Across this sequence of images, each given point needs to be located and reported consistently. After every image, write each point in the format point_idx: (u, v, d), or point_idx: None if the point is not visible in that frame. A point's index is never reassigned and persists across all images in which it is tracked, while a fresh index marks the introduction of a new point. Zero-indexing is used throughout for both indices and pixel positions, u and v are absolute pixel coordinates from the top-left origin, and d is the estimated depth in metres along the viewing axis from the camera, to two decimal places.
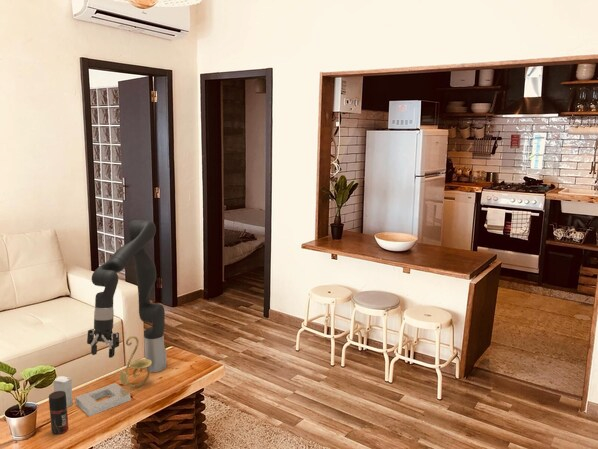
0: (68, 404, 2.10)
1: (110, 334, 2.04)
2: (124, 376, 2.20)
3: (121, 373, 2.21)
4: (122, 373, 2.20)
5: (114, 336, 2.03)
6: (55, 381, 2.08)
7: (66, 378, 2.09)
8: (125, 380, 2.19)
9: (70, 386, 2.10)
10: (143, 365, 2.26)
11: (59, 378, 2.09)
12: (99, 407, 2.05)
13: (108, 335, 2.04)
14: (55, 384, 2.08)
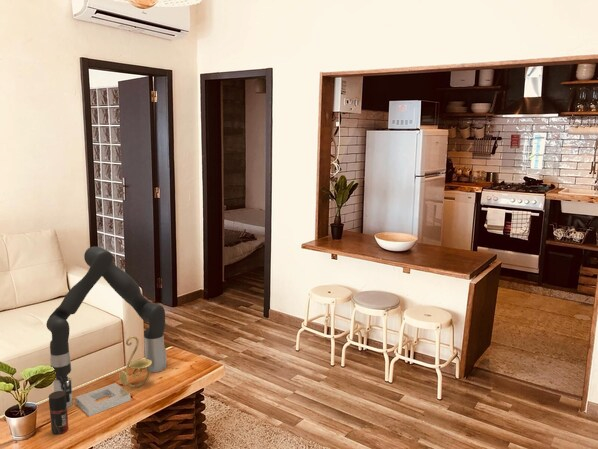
0: (68, 404, 2.10)
1: (63, 381, 2.05)
2: (124, 376, 2.20)
3: (121, 373, 2.21)
4: (122, 373, 2.20)
5: (64, 384, 2.04)
6: (55, 381, 2.08)
7: None
8: (125, 380, 2.19)
9: None
10: (143, 365, 2.26)
11: None
12: (99, 407, 2.05)
13: (62, 381, 2.06)
14: (55, 384, 2.08)
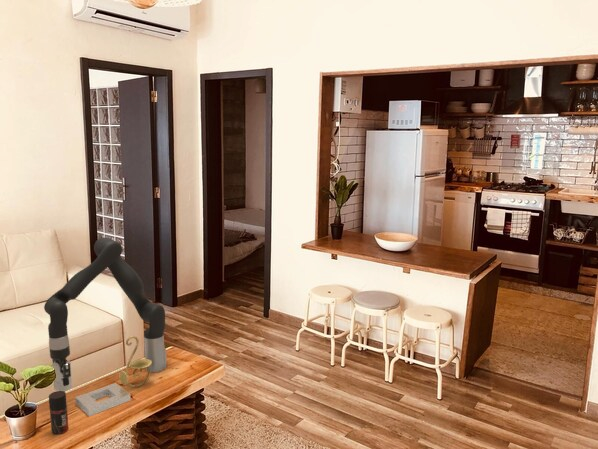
0: (67, 387, 2.08)
1: (62, 364, 2.04)
2: (124, 376, 2.20)
3: (121, 373, 2.21)
4: (122, 373, 2.20)
5: (63, 367, 2.02)
6: (54, 364, 2.07)
7: None
8: (125, 380, 2.19)
9: None
10: (143, 365, 2.26)
11: None
12: (99, 407, 2.05)
13: (61, 364, 2.05)
14: (54, 367, 2.07)
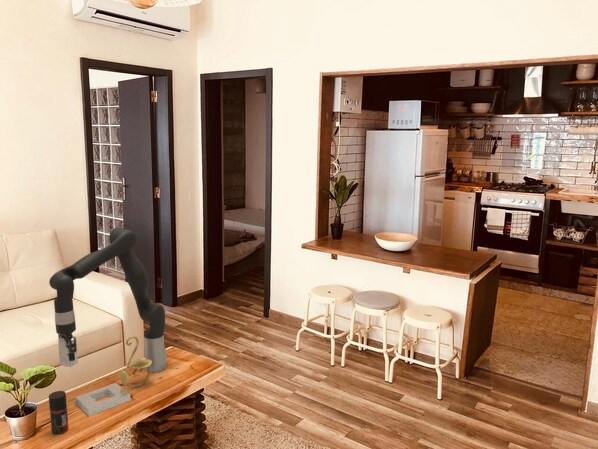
0: (73, 363, 2.07)
1: (68, 339, 2.03)
2: (124, 376, 2.20)
3: (121, 373, 2.21)
4: (122, 373, 2.20)
5: (69, 342, 2.01)
6: (60, 339, 2.06)
7: None
8: (125, 380, 2.19)
9: None
10: (143, 365, 2.26)
11: None
12: (99, 407, 2.05)
13: (67, 339, 2.04)
14: (60, 342, 2.06)
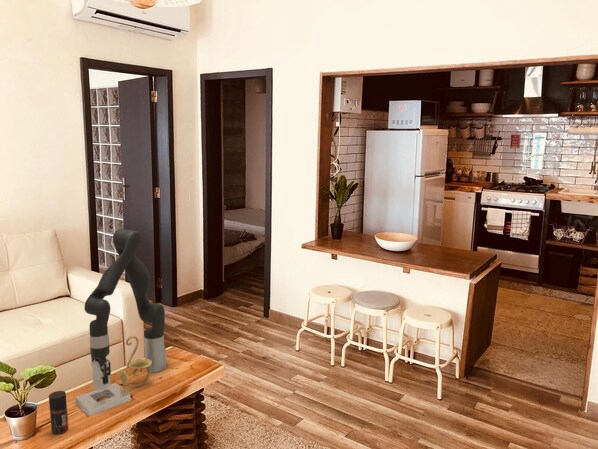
0: (106, 386, 2.11)
1: (103, 362, 2.07)
2: (124, 376, 2.20)
3: (121, 373, 2.21)
4: (122, 373, 2.20)
5: (104, 366, 2.05)
6: (94, 363, 2.09)
7: None
8: (125, 380, 2.19)
9: None
10: (143, 365, 2.26)
11: None
12: (99, 407, 2.05)
13: (101, 363, 2.07)
14: (94, 366, 2.10)
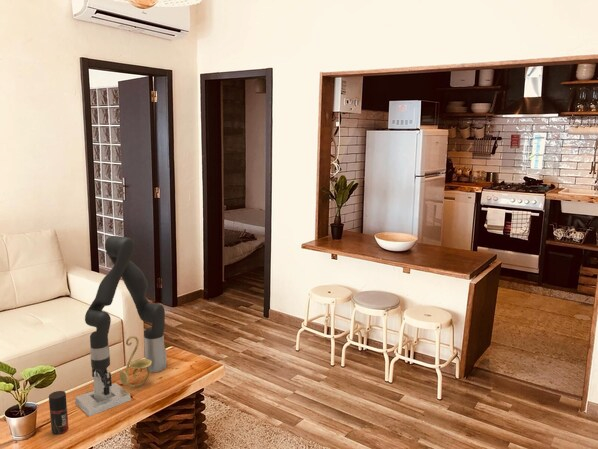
0: None
1: (103, 373, 2.08)
2: (124, 376, 2.20)
3: (121, 373, 2.21)
4: (122, 373, 2.20)
5: (105, 376, 2.06)
6: (95, 378, 2.11)
7: None
8: (125, 380, 2.19)
9: None
10: (143, 365, 2.26)
11: None
12: (99, 407, 2.05)
13: (102, 374, 2.08)
14: (95, 381, 2.11)
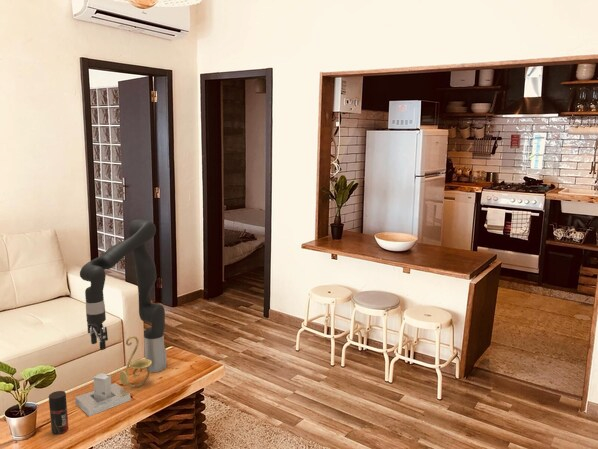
0: None
1: (99, 328, 2.08)
2: (124, 376, 2.20)
3: (121, 373, 2.21)
4: (122, 373, 2.20)
5: (100, 331, 2.07)
6: (95, 378, 2.11)
7: (106, 375, 2.12)
8: (125, 380, 2.19)
9: (109, 383, 2.13)
10: (143, 365, 2.26)
11: (99, 375, 2.12)
12: (99, 407, 2.05)
13: (98, 329, 2.09)
14: (95, 381, 2.11)
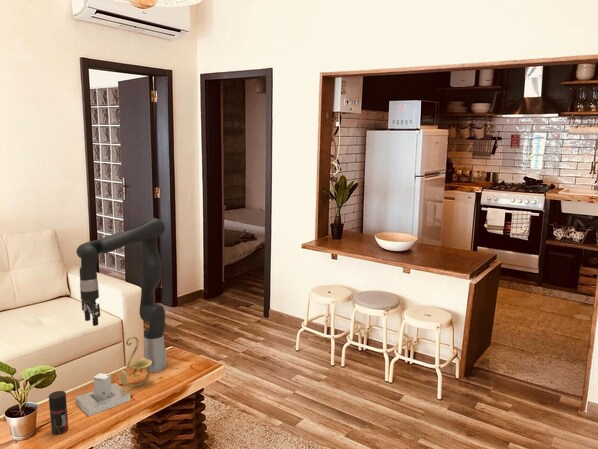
0: None
1: (92, 304, 2.18)
2: (124, 376, 2.20)
3: (121, 373, 2.21)
4: (122, 373, 2.20)
5: (93, 307, 2.16)
6: (95, 378, 2.11)
7: (106, 375, 2.12)
8: (125, 380, 2.19)
9: (109, 383, 2.13)
10: (143, 365, 2.26)
11: (99, 375, 2.12)
12: (99, 407, 2.05)
13: (91, 305, 2.19)
14: (95, 381, 2.11)
